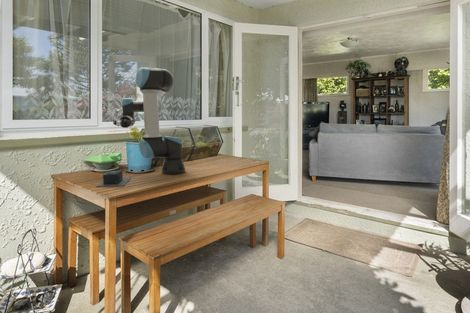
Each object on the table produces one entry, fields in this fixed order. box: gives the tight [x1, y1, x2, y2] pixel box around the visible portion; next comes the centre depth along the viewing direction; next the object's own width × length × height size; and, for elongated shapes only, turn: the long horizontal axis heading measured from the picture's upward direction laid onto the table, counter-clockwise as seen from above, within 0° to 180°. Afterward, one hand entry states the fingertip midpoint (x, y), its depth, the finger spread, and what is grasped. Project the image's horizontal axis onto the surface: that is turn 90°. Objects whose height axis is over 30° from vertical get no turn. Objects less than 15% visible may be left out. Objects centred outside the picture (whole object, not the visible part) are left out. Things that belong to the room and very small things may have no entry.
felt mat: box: [95, 176, 132, 188], centre depth 175 cm, size 14×20×1 cm
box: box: [102, 170, 123, 184], centre depth 173 cm, size 8×6×11 cm
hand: (117, 123), depth 186 cm, fingers closed
